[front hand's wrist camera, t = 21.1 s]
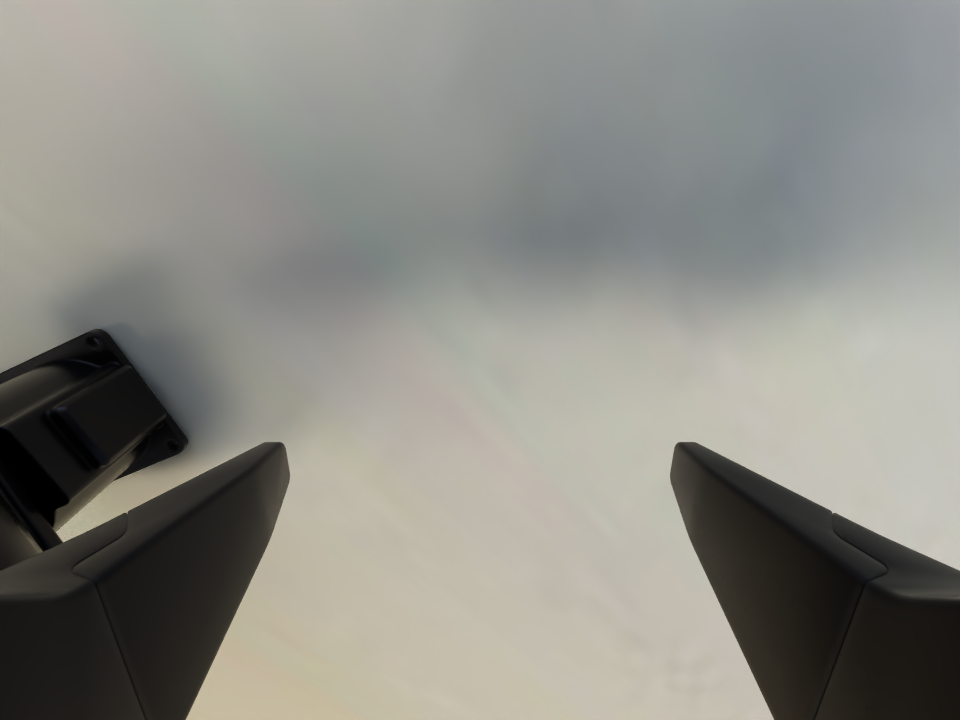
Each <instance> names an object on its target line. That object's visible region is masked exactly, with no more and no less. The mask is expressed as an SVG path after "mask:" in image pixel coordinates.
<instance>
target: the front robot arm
mask: <svg viewBox="0 0 960 720" xmlns="http://www.w3.org/2000/svg"><path fill="white" fill-rule="evenodd" d="M94 338H96V339H97V340H99V342H100V345H99V344H97V343H96V342H95V340H94ZM172 440H173V441H175V442H176V443H177V444H178V445H175V444H174V443H173V442H172ZM187 445H188V440H187V438H186V436H185V435H184V434H183V432H182V431H181V430H180V428H179V427H178V426H177V424H176V423H175V422H174V420H173V419H172V418H171V416H170V415H169V414H168V412H167V411H166V410H165V408H164V407H163V406H162V404H161V403H160V402H159V400H158V399H157V398H156V396H155V395H154V394H153V392H152V391H151V390H150V388H149V387H148V386H147V384H146V383H145V382H144V380H143V379H142V378H141V376H140V375H139V374H138V372H137V371H136V370H135V368H134V367H133V366H132V364H131V363H130V362H129V360H128V359H127V358H126V356H125V355H124V354H123V352H122V351H121V350H120V348H119V347H118V346H117V344H116V343H115V342H114V340H113V339H112V338H111V336H110V335H109V334H108V333H107V332H105V331H103V330H101V329H94V330H91V331H89V332H87V333H85V334H83V335H80V336H78V337H76V338H74V339H72V340H70V341H68V342H66V343H64V344H62V345H59V346H57V347H55V348H53V349H51V350H49V351H47V352H45V353H43V354H40V355H38V356H36V357H34V358H32V359H30V360H28V361H26V362H24V363H22V364H19V365H17V366H15V367H13V368H11V369H9V370H7V371H5V372H3V373H1V374H0V720H186V718H187V716H188V714H189V712H190V709H191V707H192V705H193V703H194V701H195V699H196V697H197V695H198V692H199V690H200V688H201V686H202V684H203V682H204V680H205V677H206V675H207V673H208V671H209V669H210V667H211V665H212V663H213V660H214V658H215V656H216V654H217V652H218V650H219V648H220V645H221V643H222V641H223V639H224V637H225V635H226V633H227V631H228V628H229V626H230V624H231V622H232V620H233V618H234V616H235V614H236V611H237V609H238V607H239V605H240V603H241V601H242V599H243V596H244V594H245V592H246V590H247V588H248V586H249V584H250V582H251V579H252V577H253V575H254V573H255V571H256V569H257V567H258V564H259V562H260V560H261V558H262V556H263V554H264V552H265V550H266V547H267V545H268V543H269V540H270V538H271V535H272V532H273V530H274V527H275V524H276V521H277V517H278V514H279V511H280V508H281V505H282V502H283V499H284V496H285V493H286V490H287V487H288V484H289V480H290V472H289V466H288V460H287V454H286V448H285V446H284V444H283V443H282V442H265V443H262V444H260V445H258V446H256V447H254V448H252V449H250V450H248V451H246V452H244V453H242V454H240V455H239V456H237V457H235V458H233V459H231V460H229V461H227V462H225V463H223V464H221V465H219V466H217V467H215V468H213V469H211V470H209V471H207V472H205V473H203V474H201V475H199V476H197V477H195V478H193V479H191V480H189V481H187V482H185V483H183V484H181V485H179V486H177V487H175V488H173V489H171V490H169V491H167V492H165V493H163V494H161V495H159V496H157V497H155V498H153V499H151V500H150V501H148V502H146V503H144V504H142V505H140V506H138V507H136V508H134V509H132V510H130V511H128V514H127V513H124V514H122V515H120V516H118V517H116V518H114V519H112V520H110V521H108V522H106V523H104V524H102V525H100V526H98V527H96V528H93V529H91V530H89V531H87V532H85V533H83V534H81V535H79V536H77V537H75V538H72V539H70V540H68V541H66V542H64V543H63V542H62V540H61V539H60V537H59V536H58V535H57V533H56V531H57V530H58V529H60V528H61V527H62V526H63V525H64V524H65V523H66V522H67V521H69V520H70V519H71V518H72V517H73V516H74V515H75V514H76V513H78V512H79V511H80V510H81V509H82V508H83V507H84V506H85V505H87V504H88V503H89V502H90V501H91V500H92V499H93V498H94V497H96V496H97V495H98V494H99V493H100V492H101V491H102V490H104V489H105V488H106V487H107V486H108V485H109V484H110V483H111V482H113V481H114V480H117V479H119V478H121V477H124V476H126V475H129V474H131V473H133V472H136V471H138V470H141V469H143V468H145V467H148V466H150V465H153V464H155V463H157V462H160V461H162V460H165V459H167V458H169V457H172V456H174V455H177V454H179V453H180V452H182V451H183V450H184V449H185V448H186V447H187ZM670 480H671V484H672V487H673V490H674V493H675V496H676V499H677V502H678V505H679V508H680V511H681V514H682V517H683V521H684V524H685V527H686V530H687V532H688V535H689V538H690V540H691V543H692V545H693V547H694V550H695V552H696V554H697V556H698V558H699V560H700V562H701V564H702V567H703V569H704V571H705V573H706V575H707V577H708V579H709V582H710V584H711V586H712V588H713V590H714V592H715V594H716V596H717V599H718V601H719V603H720V605H721V607H722V609H723V611H724V614H725V616H726V618H727V620H728V622H729V624H730V626H731V628H732V631H733V633H734V635H735V637H736V639H737V641H738V643H739V646H740V648H741V650H742V652H743V654H744V656H745V658H746V660H747V663H748V665H749V667H750V669H751V671H752V673H753V675H754V678H755V680H756V682H757V684H758V686H759V688H760V690H761V692H762V695H763V697H764V699H765V701H766V703H767V705H768V707H769V710H770V712H771V714H772V716H773V718H774V720H960V571H959V570H957V569H955V568H952V567H950V566H948V565H946V564H943V563H941V562H939V561H937V560H934V559H932V558H930V557H928V556H925V555H923V554H921V553H919V552H916V551H914V550H912V549H910V548H907V547H905V546H903V545H901V544H899V543H896V542H894V541H892V540H890V539H888V538H885V537H883V536H881V535H879V534H877V533H875V532H873V531H871V530H869V529H867V528H864V527H862V526H860V525H858V524H856V523H854V522H852V521H850V520H848V519H846V518H844V517H842V516H840V515H838V514H836V513H833V514H832V511H830V510H828V509H826V508H824V507H822V506H820V505H818V504H816V503H814V502H812V501H811V500H809V499H807V498H805V497H803V496H801V495H799V494H797V493H795V492H793V491H791V490H789V489H787V488H785V487H783V486H781V485H779V484H777V483H775V482H773V481H771V480H769V479H767V478H765V477H763V476H761V475H759V474H757V473H755V472H753V471H751V470H749V469H747V468H745V467H743V466H741V465H739V464H737V463H735V462H733V461H731V460H729V459H727V458H725V457H723V456H721V455H720V454H718V453H716V452H714V451H712V450H710V449H708V448H706V447H704V446H702V445H700V444H698V443H695V442H678V443H677V444H676V446H675V448H674V454H673V460H672V466H671V472H670Z"/></svg>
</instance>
